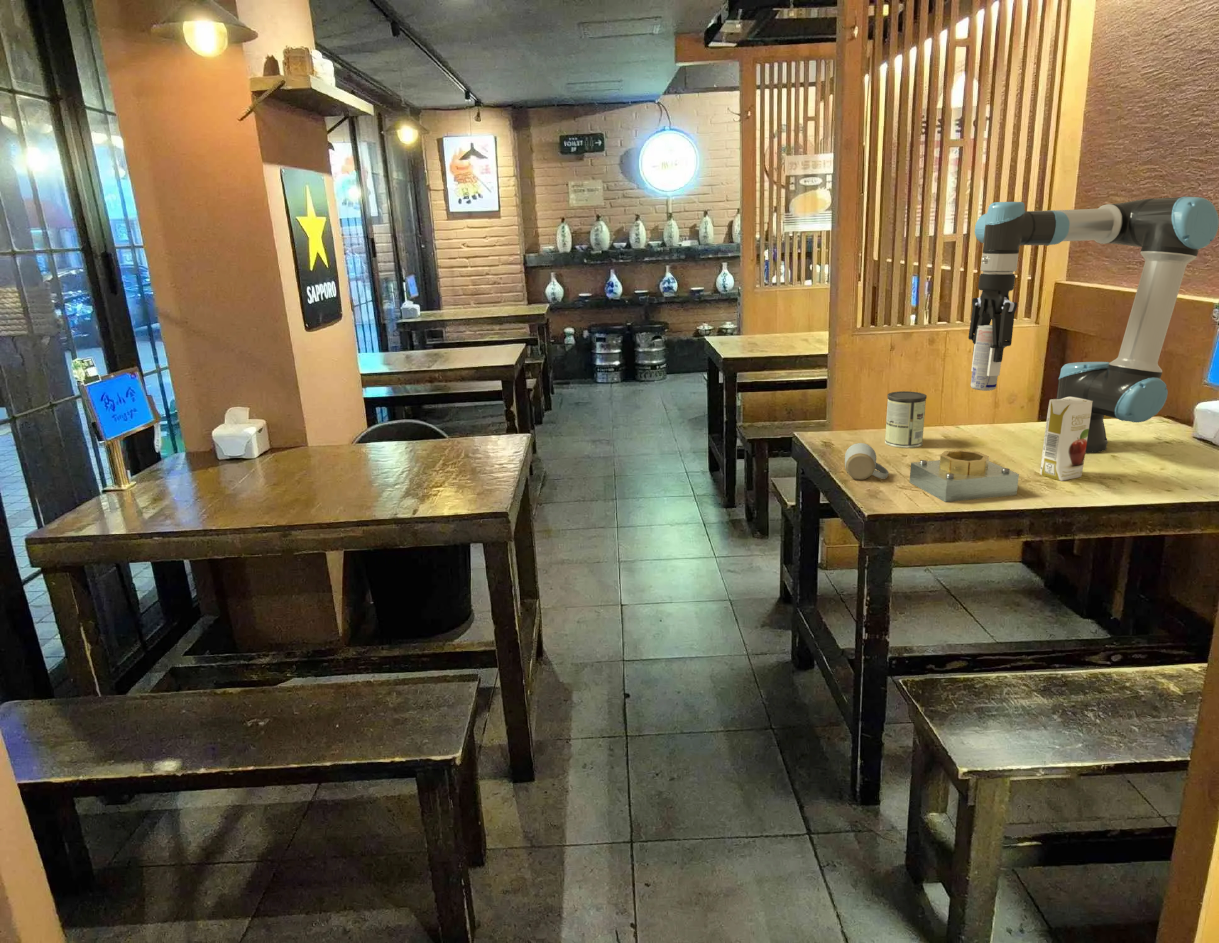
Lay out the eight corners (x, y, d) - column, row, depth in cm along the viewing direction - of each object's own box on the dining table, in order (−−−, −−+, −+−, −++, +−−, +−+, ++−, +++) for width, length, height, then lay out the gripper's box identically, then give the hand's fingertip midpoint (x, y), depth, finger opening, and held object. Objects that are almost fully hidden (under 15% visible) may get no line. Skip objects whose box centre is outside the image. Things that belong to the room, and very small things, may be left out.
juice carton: (1034, 474, 199) (1044, 398, 194) (1059, 469, 203) (1069, 395, 197) (1061, 482, 193) (1072, 404, 187) (1086, 477, 196) (1098, 400, 190)
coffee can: (889, 437, 237) (892, 389, 233) (926, 441, 231) (930, 392, 227) (879, 445, 229) (883, 396, 224) (917, 450, 223) (922, 399, 219)
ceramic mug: (843, 480, 200) (846, 450, 198) (843, 470, 207) (846, 441, 205) (888, 483, 197) (891, 453, 195) (887, 473, 205) (890, 444, 202)
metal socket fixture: (976, 476, 200) (979, 444, 197) (1016, 494, 186) (1020, 461, 183) (909, 482, 197) (912, 450, 194) (945, 502, 182) (948, 468, 180)
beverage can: (998, 391, 189) (1006, 327, 185) (972, 390, 191) (980, 326, 186) (993, 387, 195) (1001, 324, 190) (968, 386, 196) (975, 324, 192)
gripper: (959, 271, 193) (948, 367, 200) (1008, 275, 176) (994, 380, 182) (988, 270, 194) (976, 366, 201) (1039, 274, 177) (1024, 379, 183)
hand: (985, 373), depth 192 cm, fingers closed on beverage can, 5 cm apart
